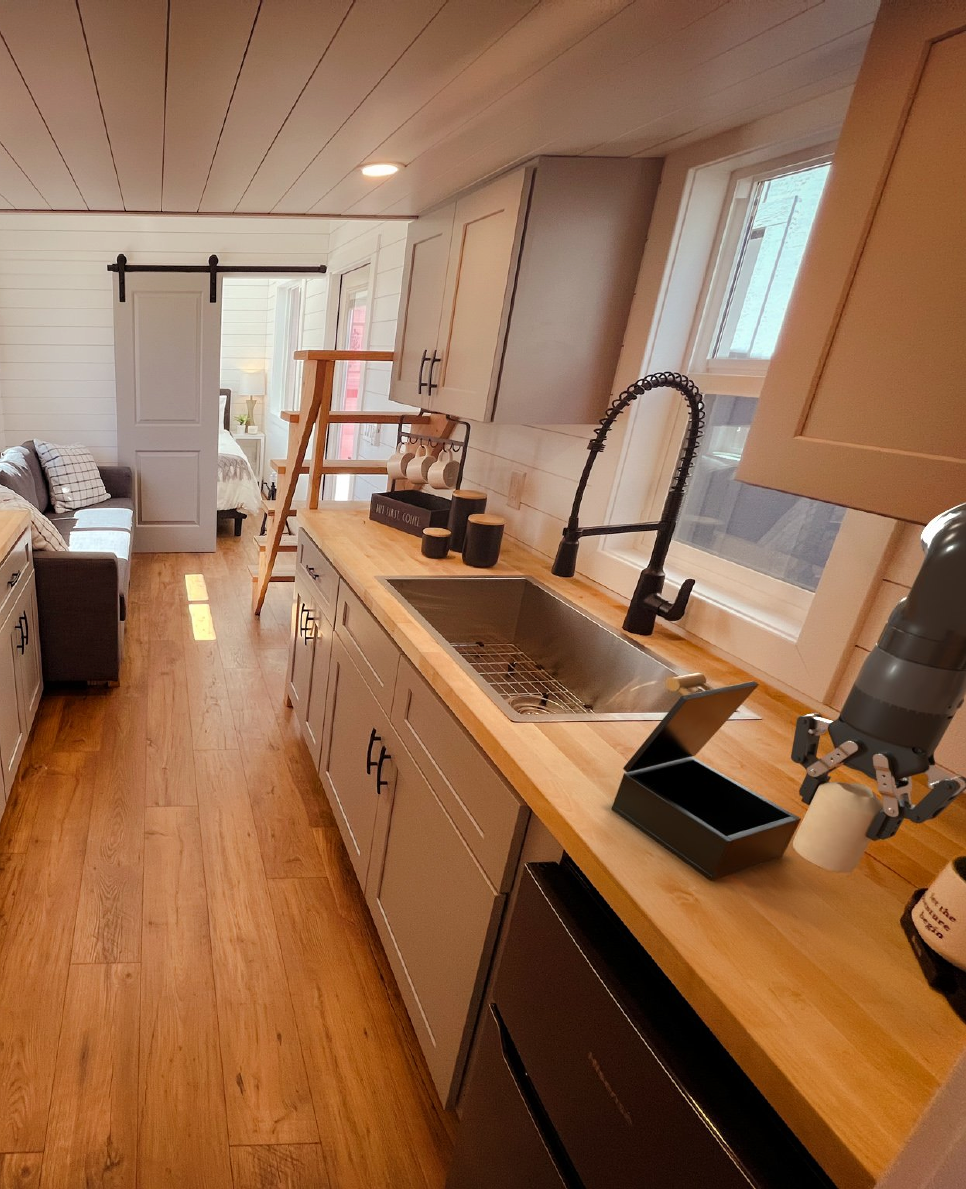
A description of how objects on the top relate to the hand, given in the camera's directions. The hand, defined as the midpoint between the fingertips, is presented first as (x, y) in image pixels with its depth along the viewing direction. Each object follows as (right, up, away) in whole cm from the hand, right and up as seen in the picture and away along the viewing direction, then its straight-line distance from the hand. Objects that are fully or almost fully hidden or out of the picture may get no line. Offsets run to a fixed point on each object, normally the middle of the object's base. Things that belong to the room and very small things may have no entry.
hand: (841, 819), depth 74 cm
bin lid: (-2, +6, +19) cm, 20 cm away
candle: (0, -5, +2) cm, 6 cm away
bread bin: (-1, -9, +20) cm, 22 cm away
